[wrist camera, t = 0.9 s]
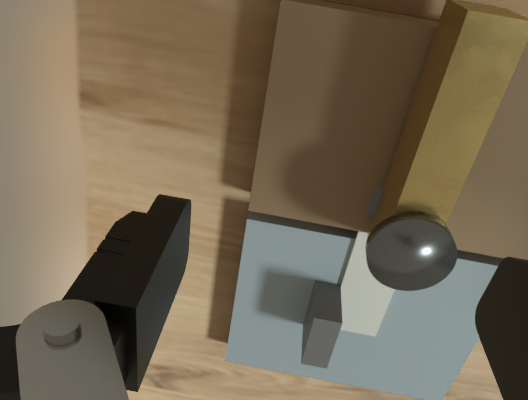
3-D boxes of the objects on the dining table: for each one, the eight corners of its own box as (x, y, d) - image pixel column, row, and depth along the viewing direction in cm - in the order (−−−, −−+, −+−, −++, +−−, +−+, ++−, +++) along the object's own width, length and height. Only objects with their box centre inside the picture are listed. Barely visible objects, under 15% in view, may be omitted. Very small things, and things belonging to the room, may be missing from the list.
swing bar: (423, 247, 31) (439, 297, 27) (352, 234, 31) (357, 282, 27) (524, 11, 23) (569, 30, 19) (427, -6, 23) (451, 9, 19)
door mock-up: (621, 53, 26) (693, 84, 21) (436, 383, 43) (451, 445, 37) (283, -7, 27) (274, 9, 21) (228, 343, 43) (216, 399, 38)
